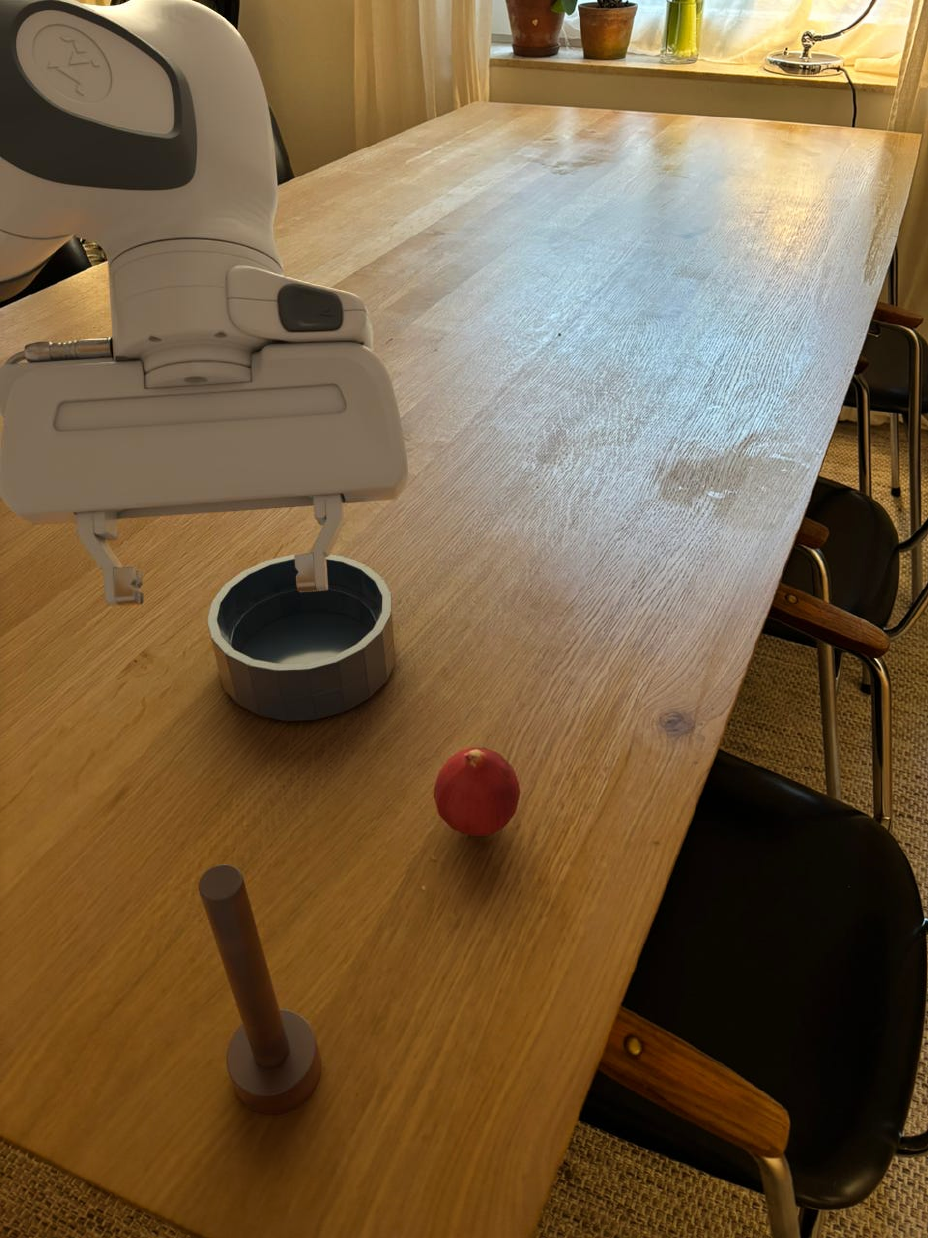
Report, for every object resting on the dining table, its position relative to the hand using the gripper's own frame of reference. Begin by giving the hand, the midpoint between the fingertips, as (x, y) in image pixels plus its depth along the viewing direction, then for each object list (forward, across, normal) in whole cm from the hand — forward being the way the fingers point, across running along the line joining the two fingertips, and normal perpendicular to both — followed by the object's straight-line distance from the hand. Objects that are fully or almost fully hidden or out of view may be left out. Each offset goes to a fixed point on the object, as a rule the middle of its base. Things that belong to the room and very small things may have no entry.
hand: (219, 597), depth 50 cm
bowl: (+2, +1, +33) cm, 33 cm away
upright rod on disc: (+26, 0, +9) cm, 28 cm away
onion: (+15, +13, +20) cm, 29 cm away
